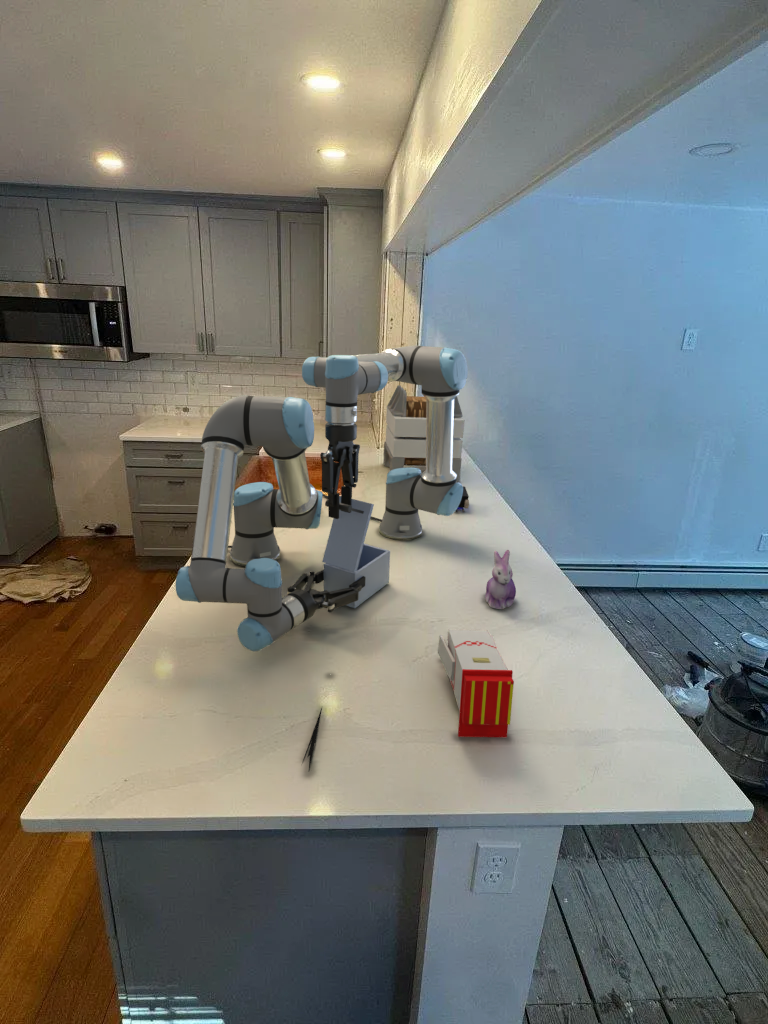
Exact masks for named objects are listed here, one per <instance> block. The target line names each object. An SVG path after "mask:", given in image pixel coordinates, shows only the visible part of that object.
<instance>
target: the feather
mask: <svg viewBox="0 0 768 1024" xmlns="http://www.w3.org/2000/svg"><path fill="white" fill-rule="evenodd" d="M329 675H330V676H331V675H332V674H331V673H330V674H329ZM322 710H323V707H321V708H320V710H319V713H318V716H317V719H316V723H315V725H314V728H313V731H312V733H311V737H310V739H309V742H308V745H307V748H306V751H305V754H304V757H303V760H302V763H301V767H302V765H303V763H304V761H305V758H308V759H309V760H308V762H307V763H308V764H307V766H308V771H310V770H311V766H312V765H311V764H312V760H313V757H315V756H314V755H315V751H316V749H315V746H317V739H318V733H319V729H320V722H321V717H322V712H323V711H322ZM313 754H314V755H313ZM306 755H307V757H306Z"/></svg>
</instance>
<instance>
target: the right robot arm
mask: <svg viewBox="0 0 768 1024" xmlns="http://www.w3.org/2000/svg"><path fill="white" fill-rule="evenodd" d="M468 372H469V369H468V362H467V359H466V356H465V355H464V353H463V352H462V351H461V350H459V349H457V348H451V347H445V346H426V345H406V346H399V347H393V348H386V349H384V350H383V351H381V352H378V353H366V354H353V355H350V354H332V355H329V356H327V357H323V356H309V357H307V358H305V360H304V362H303V363H302V366H301V377H302V380H303V382H304V383H305V384H306V385H308V386H311V387H315V388H323V389H325V404H324V405H325V406H324V420H325V422H326V423H325V425H324V428H325V429H324V430H325V431H324V434H325V435H324V436H325V437H324V438H325V439H326V440H327V441H328V446H327V451H325V452H321V453H320V455H319V456H320V460H321V492H322V493H323V497H324V498H325V499H326V500H328V508H327V509H328V511H327V512H328V518H332V519H333V518H335V519H339V496H341V503H343V504H347V505H351V506H352V499H353V488H354V489H355V488H356V487H357V483H358V482H359V454H360V449H361V444H358V443H354V441H355V440H357V438H358V425H357V423H356V422H357V421H358V397H359V395H360V396H361V395H366V394H374V393H377V392H380V391H382V390H383V389H384V388H385V387H386V386H387V384H388V382H400V383H401V382H402V383H404V384H410V385H416V386H421V396H422V397H425V398H426V466H425V470H424V471H422V470H421V468H419V467H404V468H398V469H394V470H391V471H390V470H389V471H388V472H387V475H386V480H385V504H384V505H385V507H384V508H385V509H384V513H383V515H382V519H381V518H378V517H375V516H371V518H370V520H373V521H377V522H379V526H378V533H379V534H380V535H381V536H382V537H385V538H387V539H389V540H395V541H410V540H415V539H418V538H420V537H421V536H422V535H423V525H422V524H421V518H420V515H419V510H420V511H423V512H426V513H431V514H435V515H437V516H445V517H450V516H452V515H453V514H454V513H456V509H457V508H458V506H459V504H460V501H461V498H462V494H463V484H462V483H461V482H456V478H457V475H456V473H455V472H454V471H453V470H452V457H453V423H454V399H455V397H456V396H457V397H458V396H459V395H460V390H462V389H463V388H464V387H465V385H466V383H467V379H468V376H469V375H468V374H469V373H468ZM340 476H341V477H342V484H343V485H341V486H340V493H339V492H338V488H339V482H340ZM324 493H327V495H326V494H324ZM457 510H458V509H457ZM341 511H342V510H341ZM344 512H346V511H344ZM348 513H351V512H348Z"/></svg>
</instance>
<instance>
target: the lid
mask: <svg viewBox="0 0 768 1024" xmlns="http://www.w3.org/2000/svg"><path fill="white" fill-rule="evenodd" d="M324 504H325V507H328V499H326V500H325V502H324ZM374 505H375V504H374V503H372V502H371V503H370V502H367V501H363V500H358V499H356V498H355V499H354V498H352V506H351V505H347V504H343V503H341V495H339V519H335V518H332V519H333V520H332V523H331V525H330V530H329V534H328V538H327V542H326V545H325V548H324V549H325V550H324V553H323V557H322V561H321V562H322V563H323V564H325V563H327V564H330V565H334V566H337V567H340V568H343V569H346V570H349V571H353V572H357V568H358V564H359V560H360V556H361V553H362V549H363V545H364V544H365V540H366V536H367V533H368V530H369V525H370V522H371V519H370V518H371V517H372V514H373V510H374ZM341 510H342V511H341ZM344 511H346V512H344ZM348 512H351V513H348Z"/></svg>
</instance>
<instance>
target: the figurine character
mask: <svg viewBox="0 0 768 1024" xmlns="http://www.w3.org/2000/svg"><path fill="white" fill-rule="evenodd" d="M462 486H463V485H462ZM469 498H470V496H469V494H468V491H467V488H466V486H463V494H462V498H461V501H460V504H459V506H458V508H457V509H456V511H455V513H458V510H461V511H462V513H465V509H469V506H470V500H469Z"/></svg>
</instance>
